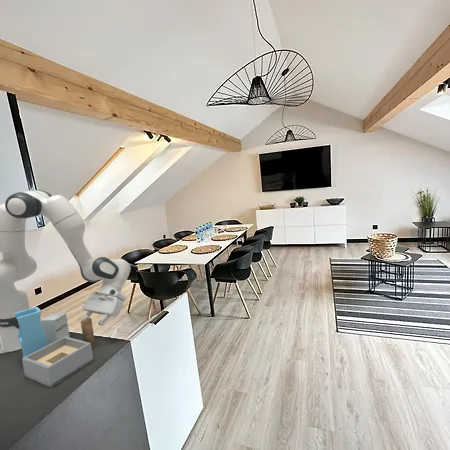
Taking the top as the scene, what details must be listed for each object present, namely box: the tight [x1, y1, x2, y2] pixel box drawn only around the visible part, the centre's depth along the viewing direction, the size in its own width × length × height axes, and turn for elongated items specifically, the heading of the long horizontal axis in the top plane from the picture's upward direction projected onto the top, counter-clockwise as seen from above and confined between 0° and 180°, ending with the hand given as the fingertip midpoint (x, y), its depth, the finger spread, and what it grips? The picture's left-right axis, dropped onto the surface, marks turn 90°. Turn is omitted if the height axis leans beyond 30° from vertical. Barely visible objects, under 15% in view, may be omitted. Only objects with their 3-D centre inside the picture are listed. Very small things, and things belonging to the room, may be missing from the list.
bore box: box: [21, 336, 94, 389], centre depth 102 cm, size 16×16×7 cm
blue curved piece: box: [14, 306, 46, 358], centre depth 109 cm, size 8×8×20 cm
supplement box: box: [40, 312, 71, 346], centre depth 121 cm, size 7×7×13 cm
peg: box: [80, 317, 96, 350], centre depth 115 cm, size 4×4×12 cm
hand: (93, 323), depth 117 cm, fingers open, 8 cm apart
